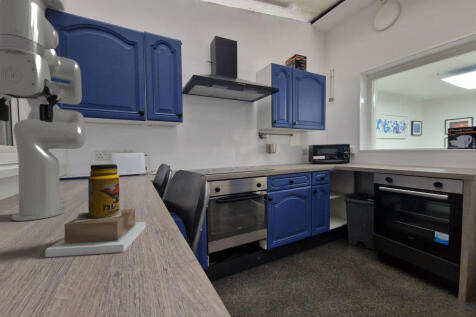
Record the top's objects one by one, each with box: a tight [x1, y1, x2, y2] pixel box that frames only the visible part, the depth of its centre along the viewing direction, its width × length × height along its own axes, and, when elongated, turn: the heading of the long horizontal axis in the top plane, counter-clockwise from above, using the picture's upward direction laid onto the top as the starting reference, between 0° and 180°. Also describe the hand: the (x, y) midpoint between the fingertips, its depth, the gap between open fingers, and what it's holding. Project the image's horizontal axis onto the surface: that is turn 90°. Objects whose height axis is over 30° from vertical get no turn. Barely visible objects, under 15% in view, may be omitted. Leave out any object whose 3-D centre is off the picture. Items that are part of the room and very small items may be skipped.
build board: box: [45, 221, 147, 258], centre depth 46 cm, size 14×14×2 cm
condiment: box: [74, 163, 122, 223], centre depth 46 cm, size 7×8×12 cm
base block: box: [64, 208, 136, 244], centre depth 46 cm, size 10×10×4 cm
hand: (23, 120), depth 48 cm, fingers open, 9 cm apart
